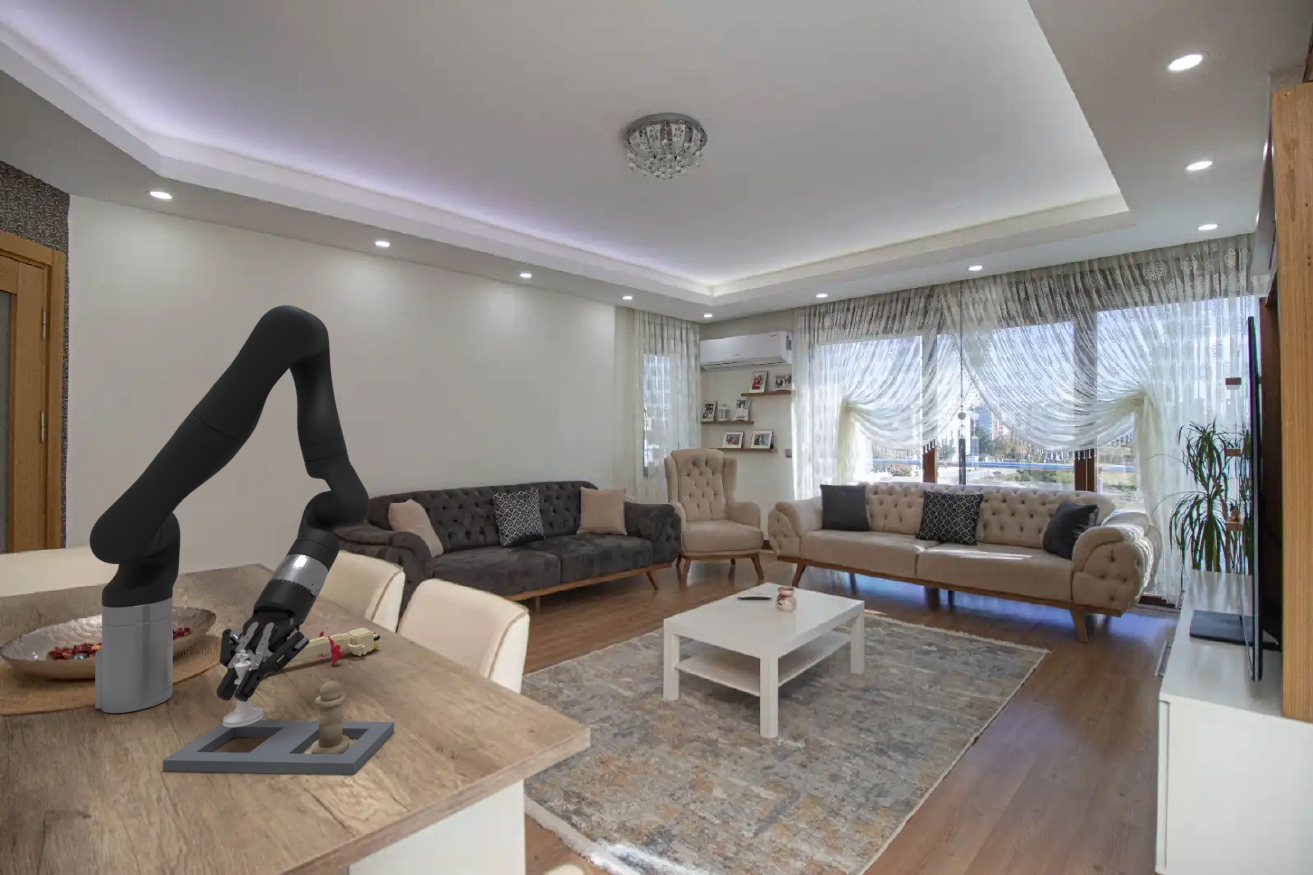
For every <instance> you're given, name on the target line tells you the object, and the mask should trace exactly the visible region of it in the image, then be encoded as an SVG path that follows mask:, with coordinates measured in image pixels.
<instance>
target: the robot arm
mask: <svg viewBox="0 0 1313 875" xmlns="http://www.w3.org/2000/svg"><path fill="white" fill-rule="evenodd" d="M330 350H331V349H330V336H329V331H328V328H327V326H326V325H325V323H324V322H323V321H322V320H321V319H320V318H319V317H317V315H314V314H313V313H311V312H308V311H307V310H304V309H303V308H300V307H297V306H296V305H289V304H288V305H287V304H284V305H283V304H282V305H279V306H275V307H273V308H271V309H269V310H268V311H267V312H264V314H263V315H262V316H261V317H260V318H259V320H258V322H257V323H256V324H255V326H254V328H253V329H252V331H251V332H250V334H249V336H248V337H247V339H246V340H245V342H244V344H242V346H241V349H240V350H239V351H238V353H237V354H236V356H235V357H234V359H233V361H232V362H231V364H229V366H228V367H227V368H226V369H225V371H224V372H223V373H222V374H221V376H220V377H219V378H218V379H217V380H216V382H214V383H213V385H212V386H211V387H210V388H209V390H208V391H207V392H206V393H205V395H204V396H203V397H202V398H201V399H200V400H199V402H197V404H196V405H195V406H194V407H193V409H191V411H190V412H189V413H188V415H187V416H186V417H185V419H184V420H183V421H182V422H181V423H180V425H179V426H178V427H177V429H175V431H174V432H173V434H172V436H170V438H169V439H168V440H167V442H166V443H165V444H164V445H163V447H162V448H161V449H160V450H159V452H157V454H156V456H155V457H154V458H153V459H152V461H151V462H150V464H148V466H147V467H146V468H145V470H144V471H143V472H142V473H141V474H140V475H139V476H138V477H137V479H136V480H135V481H134V482H133V483H132V484H131V485H130V486H129V487H128V489H126V491H125V492H123V493H122V495H120V496H119V497H118V498H117V500H116V501H115V502H113V503H112V504H111V505H110V506H109V507H108V508H107V509H106V510H105V511H104V512H103V513H102V514H101V515H100V516H99V517H98V519H97V520H96V522H95V523H94V524H93V526H92V528H91V531H90V534H89V547H90V550H91V553H92V554H93V555H94V557H95V558H96V559H98V560H99V561H100V562H103V563H105V564H110V565H118V566H117V571H116V572H115V574H114V576H113V577H112V579H111V580H110V581H108V583H107V584H106V585H105V586H104V587H103V589H102V591H101V648H100V649H98V650H97V651H95V658H94V659H95V666H94V667H95V669H94V671H95V673H94V678H95V680H94V681H95V685H94V690H95V691H94V694H95V695H94V696H95V700H94V701H95V702H94V705H95V706H94V708H95V709H99V710H101V711H102V712H103V713H108V714H123V713H130V712H135V711H136V712H137V711H140V710H145V709H147V708H152V707H155V706H157V705H160V704H161V703H164V702H166V701H168V700H169V699H171V698H172V696H173V667H174V666H173V663H174V662H173V658H174V657H173V655H174V654H173V649H174V648H173V646H174V645H173V641H174V637H173V630H174V627H173V626H174V623H173V621H174V618H173V616H174V610H173V609H174V603H173V602H174V601H173V600H174V596H173V595H174V586H175V584H176V581H177V578H178V576H179V570H180V569H179V568H180V556H181V555H180V554H181V527H180V522H179V520H178V517H177V516H176V514H175V513H174V511H175V510H176V509H177V508H178V506H179V505H180V504H181V503H182V502H183V501H184V500H185V499H186V498H187V497H188V496H189V495H190V494H192V493H193V492H194V491H195V490H197V489H198V488H199V487H201V486H202V485H203V484H205V483H206V482H207V481H209V480H210V479H211V478H213V477H214V476H215V475H216V474H218V473H219V472H220V471H221V470H222V469H223V468H225V467H226V466H227V465H228V464H229V462H231V460H233V458H235V456H236V455H237V454H238V452H240V450H241V449H242V448H243V446H244V445H245V444H246V443H247V442H248V440H249V439H250V437H251V436H252V434H253V433H254V432H255V430H256V427H257V426H258V423H259V421H260V418H261V416H262V413H263V410H264V407H265V404H266V402H267V399H268V396H270V393H271V391H272V390H273V388H274V386H275V385H276V384H277V382H279V380H280V379H281V378H282V377H283V376H284V375H285V373H287V371H288V370H289V371H290V373H291V376H292V377H291V378H292V379H293V382H294V388H295V393H296V429H297V430H296V431H297V437H298V438H297V439H298V442H299V443H298V444H299V446H300V447H299V448H300V450H301V455H302V459H303V463H304V466H305V472H306V473H307V474H308V476H309V478H312V479H318V480H323V481H324V482H325V483H326V484H327V486H328V488H329V489H330V490H326V491H321V492H319V493H317V494H316V495H314V496H313V497H312V498H311V499H310V500H309V501H308V503H307V504H306V506H305V508H304V510H303V513H302V516H301V520H300V523H299V527H298V531H297V535H296V539H295V540H294V541H293V543H292V545H291V547H290V549H289V550H288V551H287V554H286V555H285V557H284V558H283V560H281V562H280V563H279V564H278V566H277V567H276V568H275V570H274V571H273V573H272V575H271V577H270V578H269V580H268V582H267V583H266V584H265V586H264V588H263V590H262V591H261V593H260V594H259V596H258V598H257V600H256V601H255V602H254V604H253V611H252V615H251V617H249V619H248V620H247V621H246V622H245V623H244V624H243V626H242V627H239V628H237V629H234V630H232V629H231V628H226V629H224V630H223V631H222V634H221V644H220V654H219V663H220V665H222V666H224V667H225V668H226V669H227V670H226V673H225V675H224V676H223V678H222V679H221V681H220V684H218V687H217V689H216V696H217V698H219V699H221V701H230V700H231V699H232V698H233V696H234V698H235V699H236V700H237V699H238V700H239V701H243V702H246V701H247V700H248V699H249V700H250V698H251V697H252V696H253V695H254V694H255V692H256V690H257V688H258V687H259V685H260V683H261V681H262V680H263V678H264V677H265V676H267V675H268V674H271V673H274V674H277V673H280V672H281V671H282V670H283V669H284V668H286V667H287V666H286V665H287V664H288V663H289V662H290V661H291V660H292V659H293V658H294V657H295V656H296V655H297V654H298V653H299V652H300V651H302V650H303V649H304V648H305V647H306V646H307V645H308V644H309V640H310V639H309V638H308V637H307V636H306V635H305V634H304V633H302V631H300V626H302V625H303V624H304V623H305V621H306V619H307V617H308V615H309V614H310V612H311V610H312V608H313V606H314V604H315V602H316V600H317V598H318V597H319V595H320V593H321V591H322V589H323V587H324V585H325V583H326V579H327V576H328V574H329V573H330V570H331V569H332V567H333V565H334V563H335V562H336V559H337V558H338V555H339V552H340V550H341V542H340V539H339V538H338V537H337V536H336V535H335V534H334V532H335V531H336V530H339V529H343V528H344V529H345V528H352V527H356V526H359V525H361V524H363V523H364V522H365V521H366V520H367V519H368V516H369V513H370V511H371V502H370V496H369V493H368V491H367V489H366V488H365V486H364V484H363V482H362V480H361V479H360V477H359V475H358V473H357V471H356V469H355V467H354V466H353V465H352V463H351V461H350V456H349V454H348V448H347V445H346V441H345V436H344V432H343V429H342V424H341V421H340V416H339V413H338V412H339V411H338V408H337V403H336V399H335V398H336V397H335V392H334V385H333V378H332V366H331V351H330ZM248 649H249V650H250V651H249V650H248ZM241 650H245V654H249V658H247V659H245V661H249V662H251V663H252V662H253V663H252V665H251V670H247V672H246V674H245V676H244V678H243V679H242V681H241V683H240V685H239V684H234V682H235V680H236V679H238V678H239V677H238V675H237V672H236V670H235V667H234V666H235V664H237V663H239V662H240V658H237V654H240V651H241ZM251 651H252V652H251ZM283 655H284V656H283ZM282 656H283V657H282ZM281 657H282V658H281ZM280 658H281V659H280ZM279 659H280V660H279ZM278 660H279V661H278ZM277 661H278V662H277ZM285 666H286V667H285ZM270 672H271V673H270Z"/></svg>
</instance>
